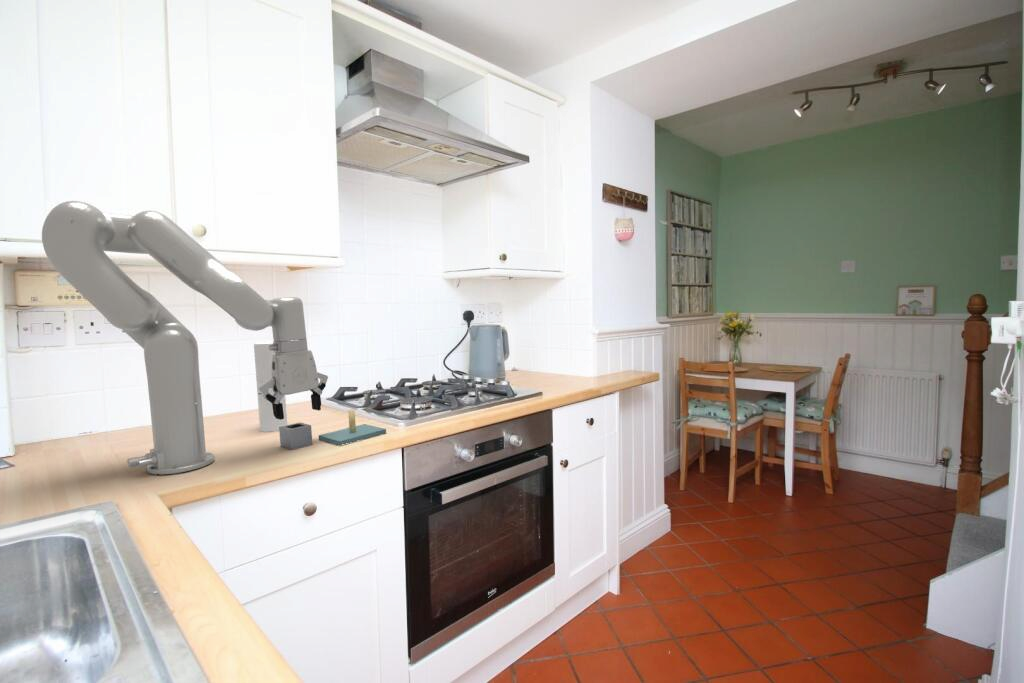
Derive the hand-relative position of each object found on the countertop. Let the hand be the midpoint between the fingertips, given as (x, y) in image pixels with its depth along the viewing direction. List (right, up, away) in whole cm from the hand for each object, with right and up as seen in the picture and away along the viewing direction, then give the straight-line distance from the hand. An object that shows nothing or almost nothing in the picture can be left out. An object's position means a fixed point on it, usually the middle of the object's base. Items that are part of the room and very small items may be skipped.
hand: (298, 414), depth 123 cm
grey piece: (-15, -7, +18) cm, 25 cm away
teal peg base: (+11, -7, +7) cm, 15 cm away
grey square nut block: (-1, -8, 0) cm, 8 cm away
